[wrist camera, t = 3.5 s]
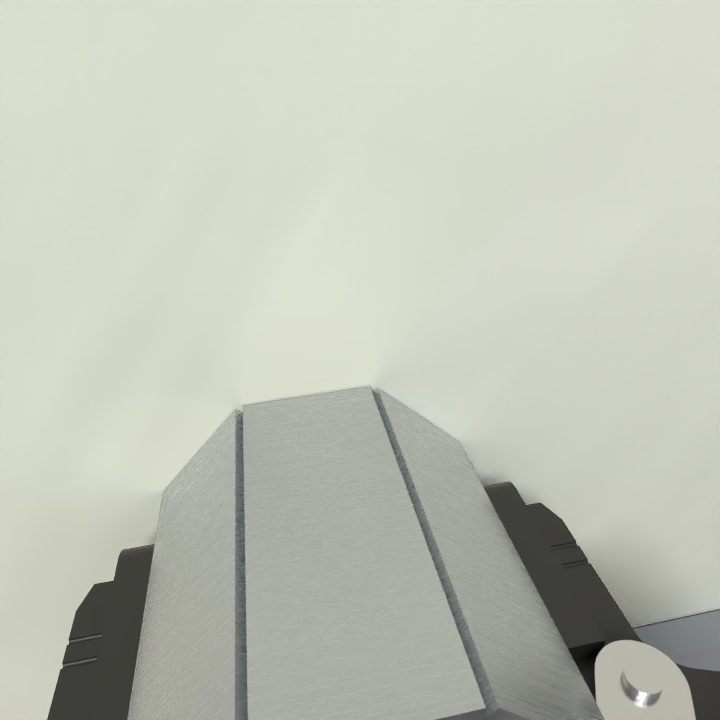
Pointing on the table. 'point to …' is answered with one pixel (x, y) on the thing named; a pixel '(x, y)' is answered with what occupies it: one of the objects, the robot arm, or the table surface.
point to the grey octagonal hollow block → (343, 579)
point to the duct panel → (687, 640)
